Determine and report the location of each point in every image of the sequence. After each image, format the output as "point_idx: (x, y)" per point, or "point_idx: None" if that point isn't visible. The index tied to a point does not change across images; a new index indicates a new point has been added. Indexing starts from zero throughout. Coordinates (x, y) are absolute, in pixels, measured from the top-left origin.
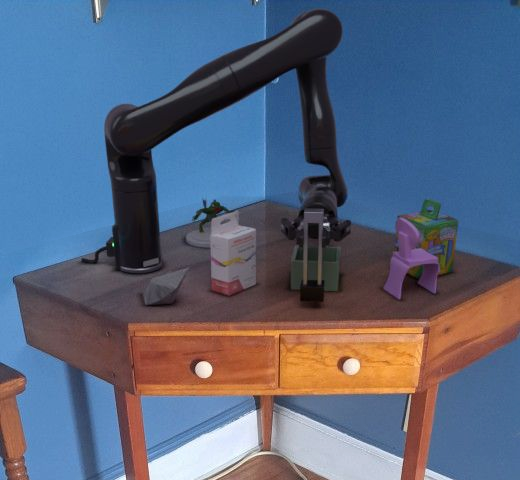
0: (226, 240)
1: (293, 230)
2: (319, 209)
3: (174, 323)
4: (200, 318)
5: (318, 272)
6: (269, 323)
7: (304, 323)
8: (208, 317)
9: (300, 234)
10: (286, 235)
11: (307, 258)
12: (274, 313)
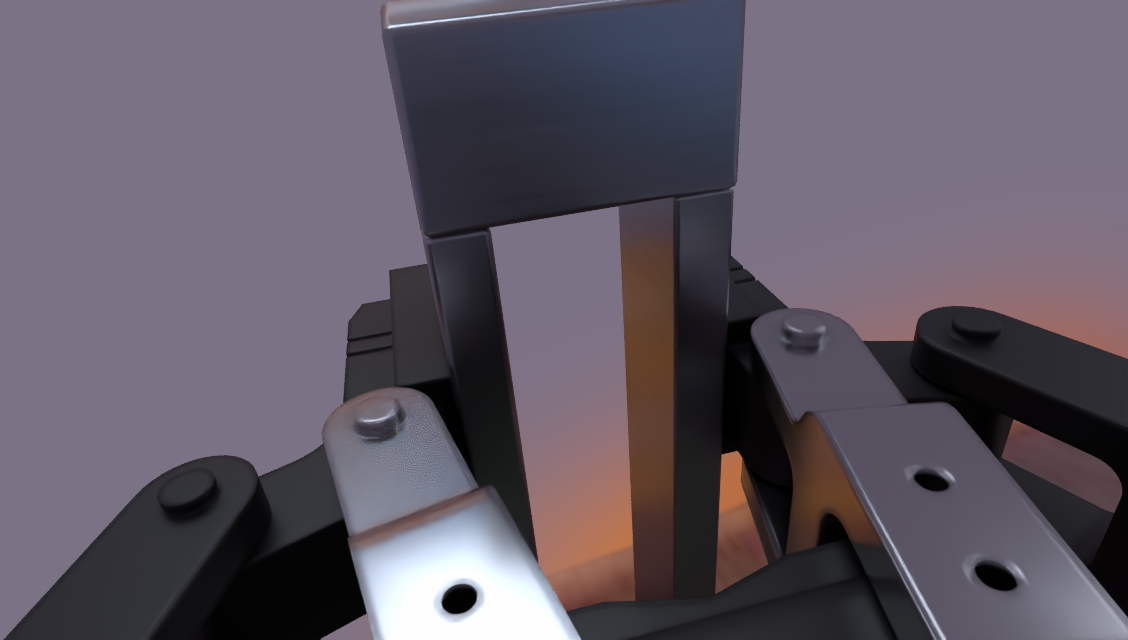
0: None
1: (894, 347)
2: (459, 10)
3: None
4: (1059, 453)
5: None
6: (734, 515)
7: (570, 573)
8: (1041, 472)
9: None
10: (1054, 485)
11: (646, 554)
12: None
